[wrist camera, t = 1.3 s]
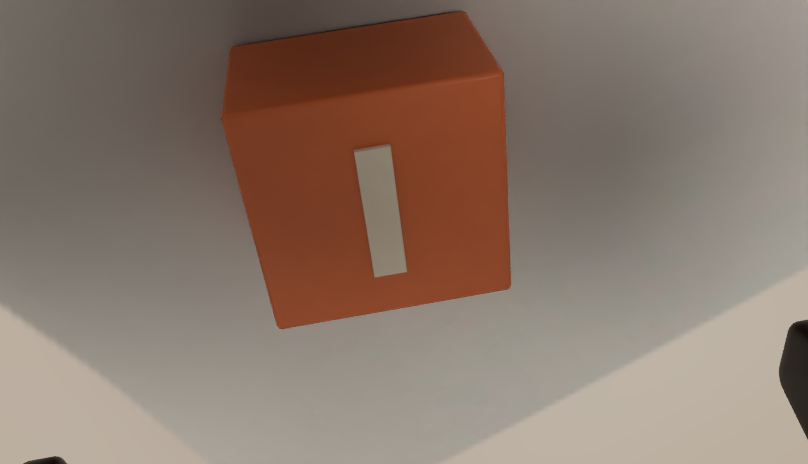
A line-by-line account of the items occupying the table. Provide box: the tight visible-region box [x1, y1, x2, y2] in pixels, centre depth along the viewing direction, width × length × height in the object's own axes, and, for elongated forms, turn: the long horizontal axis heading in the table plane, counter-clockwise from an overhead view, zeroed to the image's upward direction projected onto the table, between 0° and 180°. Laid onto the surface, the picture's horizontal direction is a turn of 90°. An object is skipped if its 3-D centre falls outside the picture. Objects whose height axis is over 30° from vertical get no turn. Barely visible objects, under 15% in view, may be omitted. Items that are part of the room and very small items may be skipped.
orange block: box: [221, 11, 511, 329], centre depth 14 cm, size 4×4×3 cm
